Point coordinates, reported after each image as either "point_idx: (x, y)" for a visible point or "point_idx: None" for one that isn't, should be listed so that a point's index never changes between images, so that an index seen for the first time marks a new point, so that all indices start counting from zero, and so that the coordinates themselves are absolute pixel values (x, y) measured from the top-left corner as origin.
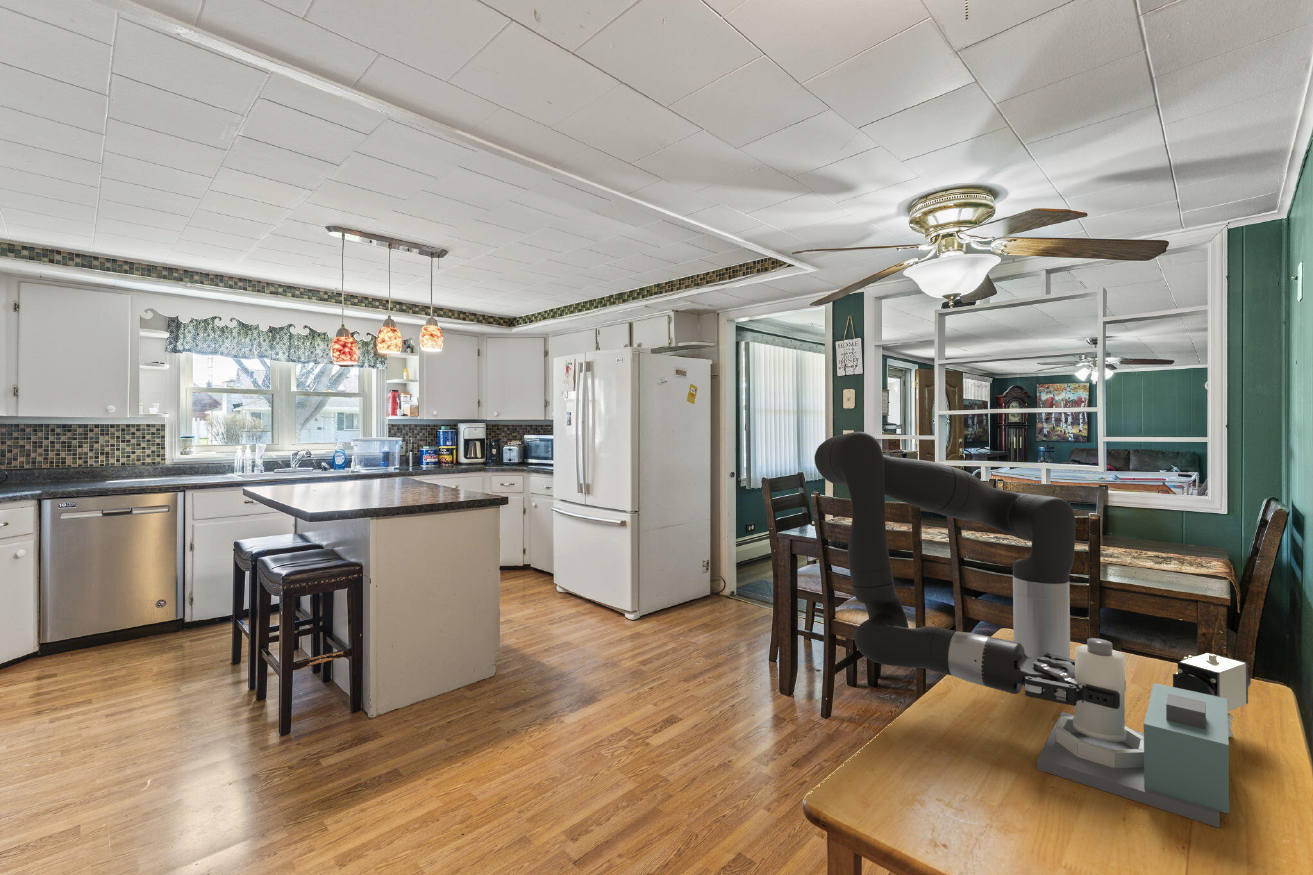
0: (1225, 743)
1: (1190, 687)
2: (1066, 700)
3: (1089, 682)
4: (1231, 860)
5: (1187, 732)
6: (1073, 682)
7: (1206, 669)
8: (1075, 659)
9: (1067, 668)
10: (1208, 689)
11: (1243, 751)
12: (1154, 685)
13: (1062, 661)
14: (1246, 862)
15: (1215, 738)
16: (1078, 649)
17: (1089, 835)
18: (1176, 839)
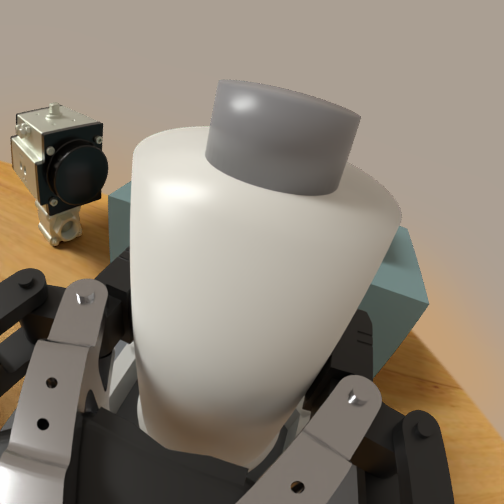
0: (405, 229)
1: (80, 171)
2: (396, 475)
3: (333, 349)
4: (424, 350)
5: (406, 254)
6: (365, 418)
7: (84, 125)
8: (266, 315)
9: (89, 389)
10: (106, 158)
11: (106, 228)
12: (125, 199)
13: (36, 381)
14: (417, 339)
15: (397, 231)
16: (283, 222)
17: (484, 475)
18: (425, 390)
